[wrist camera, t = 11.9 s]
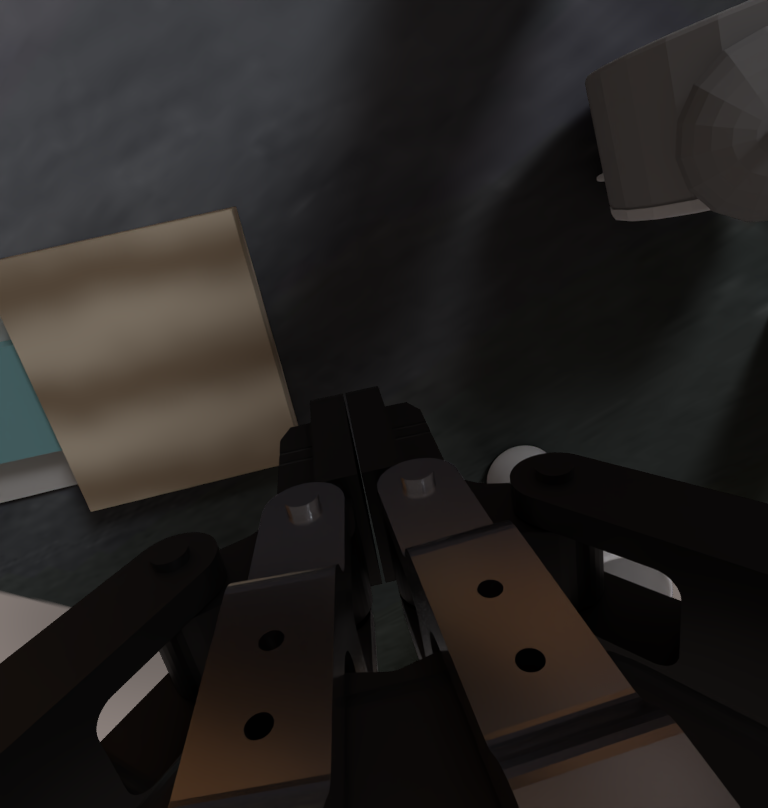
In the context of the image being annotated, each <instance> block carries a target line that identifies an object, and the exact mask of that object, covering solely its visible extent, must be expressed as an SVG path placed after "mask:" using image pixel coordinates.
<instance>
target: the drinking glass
mask: <svg viewBox="0 0 768 808" xmlns="http://www.w3.org/2000/svg"><path fill="white" fill-rule="evenodd" d="M544 453H546V452H545V451H543V450H542V449H540V448H537V447H534V446H529V445H521V446H516V447H512V448H510V449H508V450H506V451H504V452H503V453H501V454H500V455H499V456H498V457H497V458H496V459H495V460H494V462H493V463H492V465H491V466H490V469H489V471H488V475H487V483H510V473H511V471H512V469H513V467H514V466H515V465H516V464H518V463H519V462H520V461H522V460H524V459H526V458H528V457H531V456H534V455H538V454H544ZM603 559H604V572H607V573H610V574H612V575H615V576H617V577H620V578H623V579H625V580H628V581H630V582H633V583H636V584H638V585H641V586H643V587H646V588H649V589H651V590H654V591H656V592H659V593H661V594H664V595H667V596H669V597H672V595H673V586H672V580H671V579H669V578H668V577H667V576H666V575H664V574H663V573H661V572H659V571H657V570H655V569H653V568H650V567H647V566H644V565H642V564H639V563H636V562H633V561H631V560H628V559H625V558H622V557H620V556H617V555H614V554H611V553H608V552H606V551H603Z"/></svg>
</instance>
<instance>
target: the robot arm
mask: <svg viewBox="0 0 768 808" xmlns="http://www.w3.org/2000/svg"><path fill="white" fill-rule="evenodd" d="M346 398H347V403H348V408H349V413H350V418H351V423H352V428H353V433H354V438H355V443H356V448H357V453H358V458H359V463H360V468H361V473H362V478H363V482H364V487H365V491H366V496H367V500H368V505H369V509H370V514H371V518H372V523H373V527H374V532H375V536H376V541H377V545H378V550H379V554H380V559H381V563H382V568H383V572H384V577H385V581H386V582H391V581H395V580H397V585H398V589H399V593H400V598H401V602H402V607H403V612H404V616H405V619H406V622H407V625H408V628H409V631H410V634H411V637H412V640H413V643H414V646H415V648H416V651H417V654H418V657H419V660H418V661H416V662H414V663H412V664H410V665H408V666H406V667H404V668H401V669H399V670H396V671H390V672H378V670H377V653H376V637H375V622H374V617H373V613H372V609H371V606H372V602H373V598H372V591H371V586H374V585H379V584H382V580H381V575H380V570H379V565H378V560H377V555H376V549H375V544H374V539H373V534H372V529H371V524H370V519H369V514H368V509H367V504H366V499H365V494H364V488H363V483H362V479H361V474H360V469H359V465H358V460H357V455H356V451H355V447H354V442H353V438H352V433H351V429H350V424H349V420H348V415H347V411H346V406H345V402H344V397H343V394H339V395H335V396H330V397H325V398H321V399H316V400H312V401H310V412H311V423H309V424H304V425H299V426H295V427H290V429H289V430H288V431H287V432H286V434H285V435H284V436H283V438H282V439H281V440H280V452H279V453H280V456H279V471H278V490H277V495H276V496H274V497H273V498H272V499H271V500H270V501H269V502H268V503H267V504H266V506H265V507H264V509H263V512H262V516H261V521H260V525H259V530H258V531H257V532H255V533H254V534H252V535H251V536H249V537H247V538H245V539H243V540H241V541H238V542H236V543H234V544H232V545H229V546H227V547H225V548H222V549H220V550H219V548H218V545H217V543H216V541H215V539H214V538H213V537H211V536H210V535H208V534H205V533H199V532H191V533H183V534H178V535H175V536H171V537H169V538H166V539H164V540H161V541H159V542H157V543H155V544H154V545H152V546H150V547H149V548H147V549H146V550H145V551H143V552H142V553H141V554H139V555H138V556H137V557H135V558H134V559H133V560H132V561H130V562H129V563H128V564H127V565H125V566H124V567H123V568H121V569H120V570H119V571H118V572H116V573H115V574H114V575H113V576H111V577H110V578H109V579H107V580H106V581H105V582H104V583H102V584H101V585H100V586H98V587H97V588H96V589H95V590H93V591H92V592H91V593H90V594H88V595H87V596H86V597H84V598H83V599H82V600H81V601H79V602H78V603H77V604H76V605H74V606H73V607H72V608H70V609H69V610H68V611H67V612H65V613H64V614H63V615H61V616H60V617H59V618H58V619H56V620H55V621H54V622H53V623H51V624H50V625H49V626H47V627H46V628H45V629H44V630H42V631H41V632H40V633H39V634H37V635H36V636H35V637H34V638H32V639H31V640H30V641H28V642H27V643H26V644H25V645H23V646H22V647H21V648H19V649H18V650H17V651H16V652H14V653H13V654H12V655H11V656H9V657H8V658H7V659H5V660H4V661H3V662H2V663H0V808H768V504H767V503H763V502H759V501H755V500H751V499H747V498H743V497H739V496H735V495H732V494H728V493H724V492H720V491H716V490H712V489H708V488H704V487H700V486H696V485H692V484H688V483H685V482H681V481H677V480H673V479H669V478H665V477H661V476H657V475H653V474H649V473H645V472H642V471H638V470H634V469H630V468H626V467H622V466H618V465H614V464H610V463H606V462H602V461H598V460H595V459H591V458H587V457H583V456H579V455H575V454H570V453H556V452H554V453H544V454H538V455H534V456H531V457H528V458H526V459H524V460H522V461H520V462H519V463H518V464H516V465H515V466H514V467H513V469H512V471H511V473H510V483H476V482H471V481H467V480H464V479H463V477H462V476H461V474H460V473H459V471H458V470H457V468H456V467H455V466H454V465H452V464H451V463H449V462H447V461H444V459H443V457H442V455H441V453H440V451H439V449H438V447H437V444H436V442H435V440H434V438H433V436H432V434H431V433H430V430H429V427H428V425H427V423H426V421H425V419H424V417H423V415H422V412H421V410H420V409H418V408H416V407H414V406H412V405H411V404H409V403H407V402H404V403H400V404H395V405H391V406H386V407H385V406H384V403H383V400H382V397H381V394H380V391H379V388H378V386H376V387H371V388H367V389H362V390H357V391H353V392H348V393H346ZM603 551H606V552H608V553H611V554H614V555H617V556H620V557H622V558H625V559H628V560H631V561H633V562H636V563H639V564H642V565H644V566H647V567H650V568H653V569H655V570H657V571H659V572H661V573H663V574H664V575H666V576H667V577H668V578H669V579H671V580H672V581H673V583H674V584H675V585H676V586H677V588H678V590H679V592H680V594H681V601H680V600H677V599H674V598H672V597H669V596H667V595H664V594H661V593H659V592H656V591H654V590H651V589H649V588H646V587H643V586H641V585H638V584H636V583H633V582H630V581H628V580H625V579H623V578H620V577H617V576H615V575H612V574H610V573H607V572H604V559H603ZM158 651H159V652H160V654H161V657H162V659H163V661H164V663H165V665H166V667H167V670H168V672H169V673H168V674H167V675H166V676H165V677H164V678H163V679H162V680H161V681H160V682H159V683H158V684H157V685H156V686H155V687H154V688H153V689H152V690H151V691H150V692H149V693H148V694H147V695H146V696H145V697H144V698H143V699H142V700H141V701H140V702H139V703H138V704H137V705H136V706H135V707H134V708H133V709H132V710H131V711H130V712H129V713H128V714H127V715H126V717H125V718H123V719H122V721H121V722H120V723H119V724H118V725H117V726H116V727H115V728H114V729H113V730H112V731H111V732H110V733H109V734H108V735H107V736H106V737H105V738H104V739H103V740H102V741H101V742H100V741H99V740H98V737H97V732H96V726H97V721H98V718H99V715H100V713H101V710H102V709H103V707H104V705H105V704H106V702H107V701H108V699H110V698H111V697H112V696H113V695H114V693H116V691H118V690H119V689H120V688H121V687H122V686H123V685H124V684H125V683H126V682H127V681H128V680H129V679H130V678H131V677H132V676H133V675H134V674H135V673H136V672H137V671H138V670H140V669H141V668H142V667H143V665H145V664H146V663H147V662H148V661H149V660H150V659H151V658H152V657H153V656H154V655H155V654H156V653H157V652H158Z"/></svg>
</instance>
